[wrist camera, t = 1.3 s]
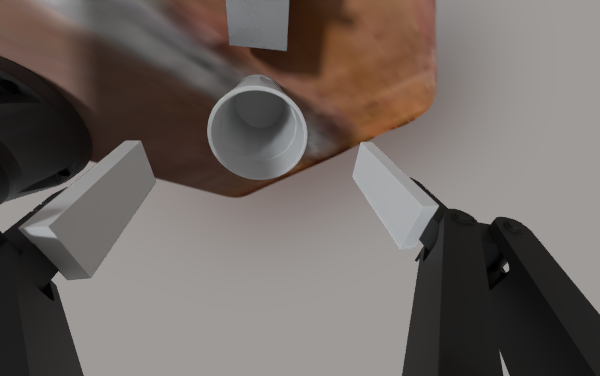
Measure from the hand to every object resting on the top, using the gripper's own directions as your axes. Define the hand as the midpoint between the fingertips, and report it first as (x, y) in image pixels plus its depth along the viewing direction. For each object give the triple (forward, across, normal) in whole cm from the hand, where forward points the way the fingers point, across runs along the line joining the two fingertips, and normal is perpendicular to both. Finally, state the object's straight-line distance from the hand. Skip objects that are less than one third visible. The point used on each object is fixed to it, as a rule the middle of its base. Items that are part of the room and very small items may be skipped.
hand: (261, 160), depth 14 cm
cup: (+17, 0, 0) cm, 17 cm away
